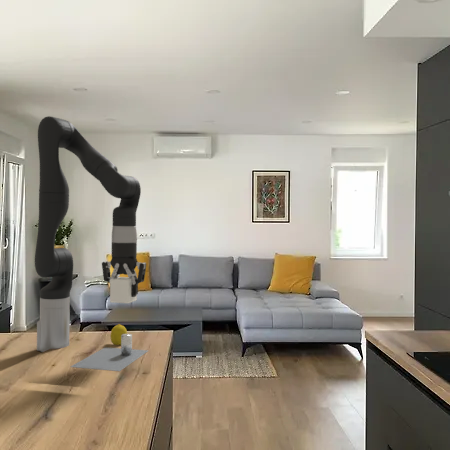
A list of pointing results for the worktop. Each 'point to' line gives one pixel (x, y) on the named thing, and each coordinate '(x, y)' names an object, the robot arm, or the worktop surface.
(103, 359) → the duct base
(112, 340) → the lemon
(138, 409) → the worktop surface
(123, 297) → the duct collar
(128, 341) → the silver metal capsule
